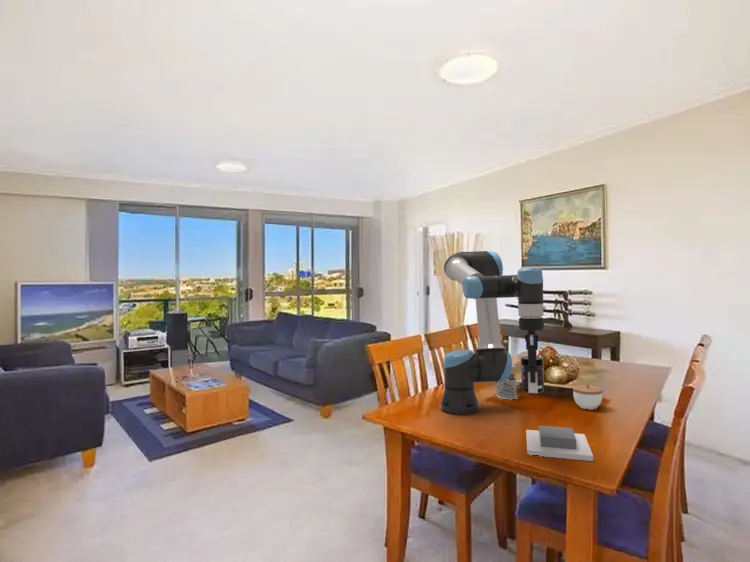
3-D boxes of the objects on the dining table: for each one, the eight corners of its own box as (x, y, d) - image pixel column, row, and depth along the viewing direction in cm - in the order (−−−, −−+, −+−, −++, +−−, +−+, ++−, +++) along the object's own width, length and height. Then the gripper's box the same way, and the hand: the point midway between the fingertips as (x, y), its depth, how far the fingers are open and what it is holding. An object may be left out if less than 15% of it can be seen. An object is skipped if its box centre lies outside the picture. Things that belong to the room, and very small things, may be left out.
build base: (527, 455, 135) (527, 440, 135) (526, 434, 152) (525, 420, 152) (593, 461, 129) (593, 445, 129) (584, 438, 146) (584, 424, 146)
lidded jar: (606, 412, 173) (606, 387, 172) (576, 411, 175) (576, 387, 175) (598, 404, 183) (598, 381, 183) (570, 403, 185) (570, 380, 185)
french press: (518, 400, 191) (517, 342, 190) (490, 399, 194) (489, 341, 194) (518, 394, 200) (517, 338, 199) (492, 393, 204) (490, 338, 203)
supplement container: (534, 387, 146) (533, 355, 146) (549, 391, 140) (548, 358, 140) (517, 389, 144) (516, 357, 144) (531, 394, 138) (530, 360, 138)
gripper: (544, 320, 131) (546, 398, 131) (543, 314, 150) (545, 383, 150) (517, 319, 134) (519, 397, 134) (519, 314, 152) (521, 382, 152)
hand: (533, 389), depth 142 cm, fingers closed on supplement container, 7 cm apart
